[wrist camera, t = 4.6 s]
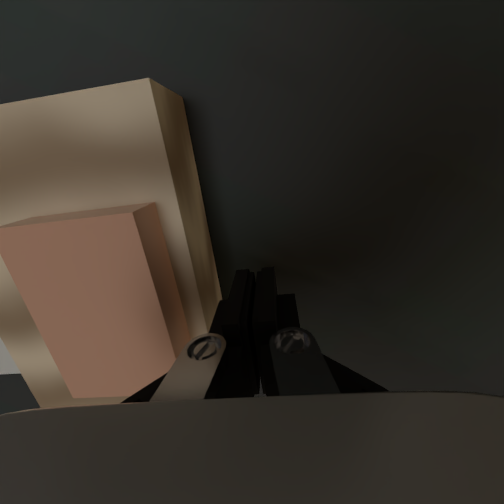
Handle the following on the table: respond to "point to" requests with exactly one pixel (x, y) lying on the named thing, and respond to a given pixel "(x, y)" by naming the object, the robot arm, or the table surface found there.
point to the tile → (100, 295)
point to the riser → (102, 198)
